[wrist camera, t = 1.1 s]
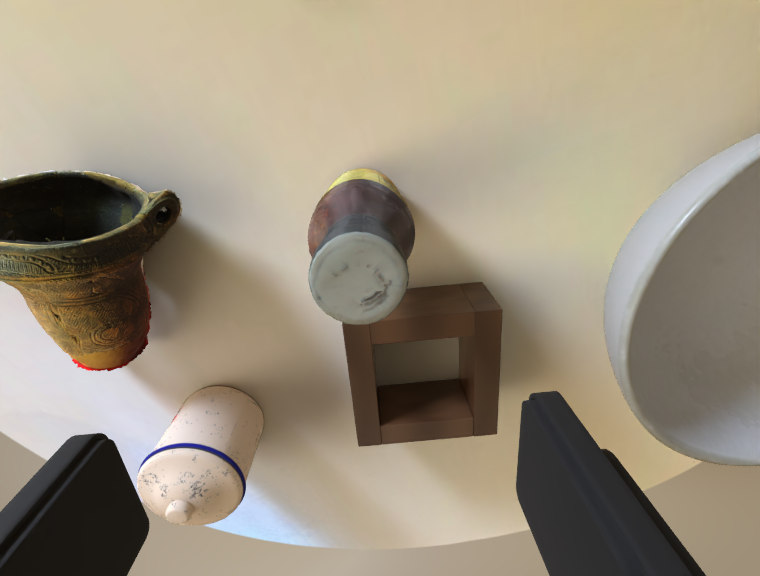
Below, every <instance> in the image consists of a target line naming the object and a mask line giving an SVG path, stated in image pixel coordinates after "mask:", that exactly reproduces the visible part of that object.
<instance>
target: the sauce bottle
mask: <svg viewBox="0 0 760 576" xmlns="http://www.w3.org/2000/svg"><path fill="white" fill-rule="evenodd" d="M414 240H415V227H414V222H413V218H412V215H411V213H410V211H409V209H408V207H407V205H406V203H405V202H404V200H403V199H402V197H401V195H400V194H399V192H398V190H397V189H396V187H395V185H394V184H393V183H392V182H391V180H390V179H388V178H387V177H386V176H385V175H383V174H382V173H380V172H378V171H375V170H372V169H354V170H350V171H348V172H345V173H344V174H342V175H341V176H340V177H339V178H337V179H336V180H335V182H334V183H333V184H332V185H331V186H330V188H329V189H328V191H327V192H326V193H325V194H324V196H323V197H322V198H321V200H320V201H319V203H318V204H317V207H316V209H315V211H314V213H313V215H312V218H311V221H310V225H309V231H308V242H309V243H308V245H309V252H310V254H311V256H312V261H311V264H310V269H309V284H310V289H311V292H312V295H313V298H314V300H315V301H316V303H317V304H318V306H319V307H320V308H321V309H322V310H323V311H324V312H325V313H326V314H328V315H330V316H332V317H333V318H334V319H336V320H339V321H342V322H344V323H347V324H353V325H360V324H370V323H373V322H377V321H380V320H382V319H384V318H386V317H387V316H388V315H390V314H391V312H393V311H394V310H395V309H396V307H397V306H398V305H399V304H400V303H401V301H402V300H403V298H404V296H405V293H406V290H407V286H408V278H409V273H408V267H407V261H406V260H407V259H408V257H409V256H410V254H411V251H412V249H413V245H414Z"/></svg>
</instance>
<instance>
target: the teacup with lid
mask: <svg viewBox="0 0 760 576" xmlns="http://www.w3.org/2000/svg"><path fill="white" fill-rule="evenodd" d="M263 426H264V419H263V414H262V412H261V409H260V408H259V406H258V405H257V403H256V402H255V401H254V400H253V399H252V398H251V397H249V396H248V395H247V394H245V393H243V392H241V391H239V390H237V389H234V388H230V387H223V386H213V387H207V388H203V389H201V390H198V391H196V392H195V393H193V394H192V395H190V396H189V397H188V398H187V399H186V401H185V402H184V403H183V405H182V407H181V408H180V410H179V411H178V413H177V414H176V416H175V418H174V419H173V421H172V422H171V424H170V425H169V427H168V429H167V430H166V432H165V433H164V435H163V436H162V438H161V440H160V441H159V443H158V444H157V446H156V447H155V449H154V451H153V452H152V453H151V454H150V455H148V456H147V457H146V458H145V460H144V461H143V462H142V464H141V466H140V468H139V472H138V477H137V487H138V492H139V494H140V497H141V498H142V500H143V502H144V503H145V504H146V505H147V507H149V508H150V509H151V510H152V511H153V512H154V513H156V514H157V515H159V516H161V517H163V518H165V519H167V520H168V521H169V522H171V523H173V524H177V525H178V524H185V525H205V524H210V523H214V522H217V521H219V520H222V519H224V518H226V517H227V516H228V515H230V514H231V513H232V512H233V511H234V510H235V509H236V508H237V507H238V505H239V504H240V503H241V501H242V500H243V497H244V495H245V490H246V480H247V477H248V474H249V471H250V467H251V464H252V461H253V458H254V455H255V452H256V449H257V446H258V443H259V440H260V437H261V434H262V430H263Z"/></svg>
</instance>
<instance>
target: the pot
mask: <svg viewBox="0 0 760 576" xmlns="http://www.w3.org/2000/svg"><path fill="white" fill-rule="evenodd" d="M163 207H165V208H166V209H167V210H165V212H164V211H162V210H160V209H161V208H163ZM181 212H182V208H181V202H180V199H179V198H177V197H176V195H175V193H174V192H172V191H169V190H167V189H165V190H162V191H158V192H155V193H154V192H150V193H146V192H145V191H142V190H141V189H140V187H139V186H137V185H134V184H133V183H132V184H130V183H127V181H124V180H122V179H120V178H116V177H115V176H112V177H111V176H110V175H109V174H104V173H103V174H102V173H95V172H90V171H84V172H83V173H82V172H80V171H57V172H56V171H55V170H51V171H47V172H39V173H36V174H31V173H30V174H27V175H19V176H16V177H14V178H11V179H4V181H1V180H0V281H3V282H5V283H7V284H9V285H11V286H13V287H14V288H16V289H18V290H19V291H20V293H21V294H22V295H23V297H24V299H25V301H26V303H27V305H28V307H29V308H30V310H31V312H32V314H33V315H34V317H35V318H36V320H37V321H38V322H39V324H40V325H41V326H42V328H43V329H44V330H45V331H46V333H47V334H48V335H50V336H51V338H52V339H53V340H54V341H55V343H57V345H58V346H59V347H60V348H61V349H62V350H63V351H64V352H66V353H68V354H69V355H70V356H71V358H73V360H72V361H73V362H74V363H75V364H78V367H82V368H84V369H86V370H92V371H93V370H95V371H96V370H98V371H101V370H106V369H107V371H111V370H114V369H116V368H122V367H123V366H126V365H127V364H128V363H129V362H131V361H133V360H134V359H135V358H137V356H138V355H139V354H141V353H142V352H143V349H145V347H146V345H148V339H147V336H146V335H147V334H148V332H149V329H150V324H149V322H150V319H151V311H150V310H151V307H150V305H151V304H150V301H149V300H150V296H149V292H148V291H149V289H148V286H146V283H145V280H146V278H145V272H144V269H143V256H144V253H145V252H150V250H151V248H152V246H153V245H154V244H155V243H156V242H159V241H160V240H161V239H162V238H163V237H164V236H165V234H166V232H167V231H168V230H169V228H170V227H171V226H172V225H174V224H175V222H176V220H177V218H178V217H179V216H180V215H181Z"/></svg>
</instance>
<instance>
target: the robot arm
mask: <svg viewBox="0 0 760 576" xmlns="http://www.w3.org/2000/svg"><path fill="white" fill-rule="evenodd" d="M516 490H517V496H518V499H519V502H520V505H521V507H522V510H523V512H524V515H525V517H526V520H527V522H528V524H529V527H530V529H531V531H532V534H533V536H534V539H535V541H536V544H537V546H538V549H539V551H540V553H541V556H542V558H543V561H544V563H545V566H546V568H547V570H548V573H549V575H550V576H706V575H705V574H704V572H703V571H702V570H701V568H700V567H699V566H698V564H697V563H696V562H695V560H694V559H693V558H692V557H691V555H690V554H689V552H688V551H687V550H686V548H685V547H684V546H683V545H682V543H681V542H680V541H679V539H678V538H677V537H676V535H675V534H674V533H673V532H672V530H671V529H670V527H669V526H668V525H667V524H666V522H665V521H664V519H663V518H662V517H661V516H660V514H659V513H658V512H657V510H656V509H655V508H654V506H653V505H652V504H651V502H650V501H649V500H648V498H647V497H646V496H645V494H644V493H643V492H642V490H641V489H640V488H639V486H638V485H637V484H636V482H635V481H634V480H633V479H632V477H631V476H630V475H629V473H628V472H627V471H626V469H625V468H624V467H623V465H622V464H621V463H620V461H619V460H618V459H617V458H616V457H615V455H614V454H613V453H612V452H610V451H608V450H607V449H600V448H599V446H598V445H597V443H596V442H595V441H594V439H593V438H592V437H591V435H590V434H589V432H588V431H587V430H586V428H585V427H584V426H583V424H582V423H581V421H580V420H579V419H578V417H577V416H576V415H575V413H574V412H573V411H572V409H571V408H570V406H569V405H568V404H567V402H566V401H565V400H564V398H563V397H562V395H561V394H560V393H559V392H557V391H552V392H541V393H532V394H531V395H530V397H529V400H526V401H523V403H522V411H521V424H520V438H519V452H518V466H517V480H516ZM148 531H149V519H148V517H147V515H146V512H145V510H144V508H143V506H142V503H141V501H140V499H139V497H138V494H137V492H136V490H135V488H134V485H133V483H132V481H131V479H130V476H129V474H128V472H127V470H126V467H125V465H124V463H123V461H122V458H121V456H120V454H119V452H118V449H117V447H116V445H115V443H114V441H113V440H111V439H108V437H107V436H106V435H104V434H102V433H97V434H86V435H75V436H73V437H71V438H69V439H68V440H67V441H66V442H65V443H64V444H63V445H62V446H61V447H60V448H59V449H58V451H57V452H56V453H55V454H54V455H53V456H52V457H51V458H50V459H49V460H48V461H47V462H46V463H45V465H44V466H43V467H42V468H41V469H40V470H39V471H38V472H37V473H36V474H35V475H34V476H33V478H31V480H30V481H29V482H28V483H27V484H26V485H25V486H24V487H23V488H22V489H21V490H20V492H19V493H18V494H17V495H16V496H15V497H14V498H13V499H12V500H11V501H10V502H9V503H8V504H7V505H6V506H5V508H4V509H3V510H2V511H1V512H0V576H127V574H128V572H129V570H130V568H131V567H132V565H133V563H134V561H135V559H136V557H137V555H138V553H139V551H140V549H141V547H142V545H143V544H144V542H145V539H146V537H147V535H148Z"/></svg>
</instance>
